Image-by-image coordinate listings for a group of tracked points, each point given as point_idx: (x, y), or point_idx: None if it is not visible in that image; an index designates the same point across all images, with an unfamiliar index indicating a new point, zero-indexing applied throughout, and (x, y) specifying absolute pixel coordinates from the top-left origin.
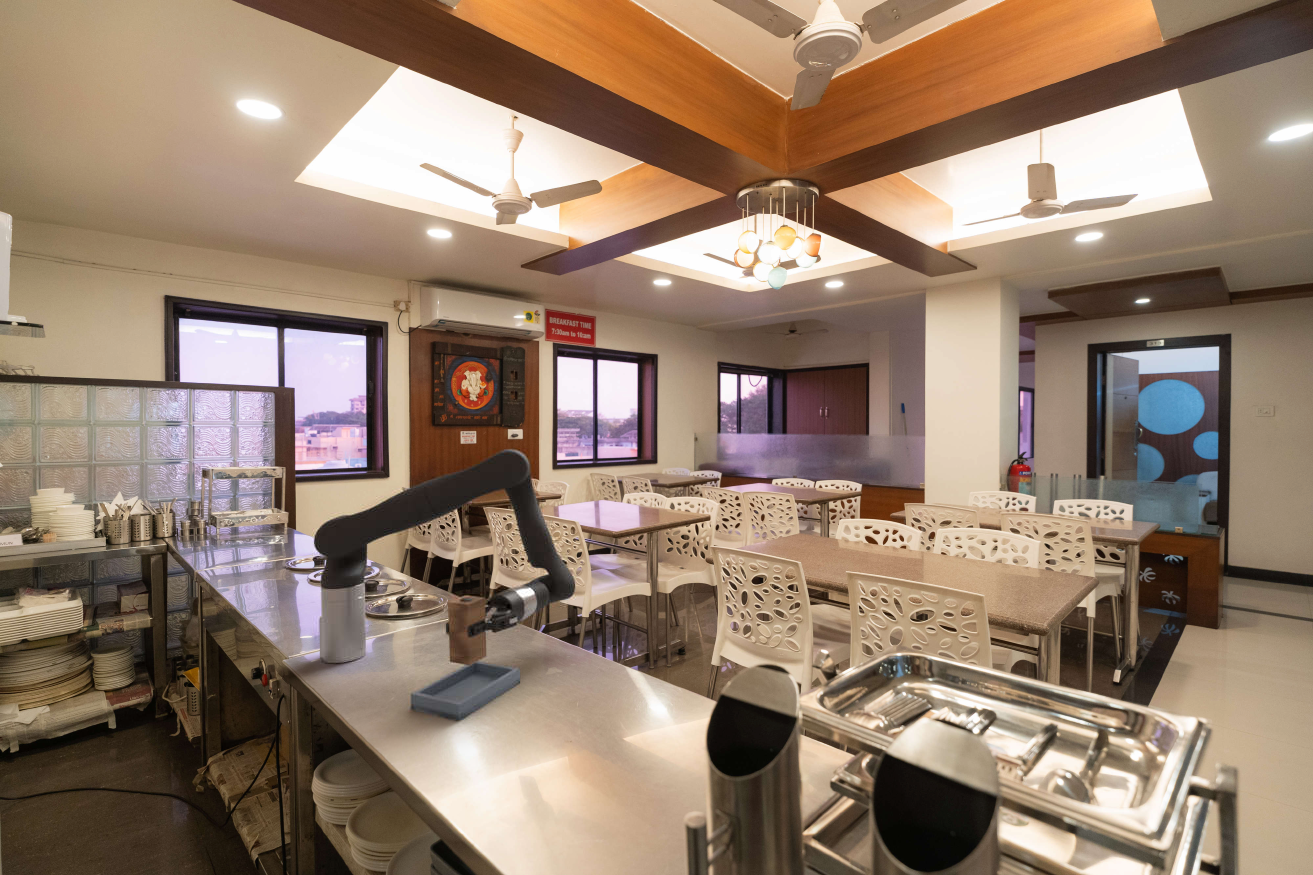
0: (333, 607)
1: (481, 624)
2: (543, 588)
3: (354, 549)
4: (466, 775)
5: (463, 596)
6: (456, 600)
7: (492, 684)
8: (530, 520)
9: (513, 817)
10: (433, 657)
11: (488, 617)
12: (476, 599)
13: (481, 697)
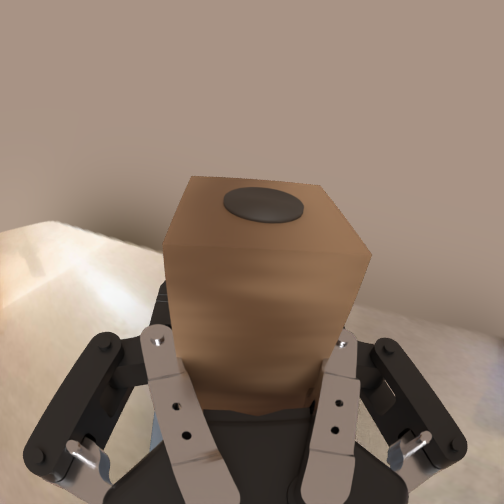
0: None
1: (162, 317)
2: None
3: None
4: (95, 265)
5: (352, 237)
6: (308, 197)
7: (155, 426)
8: None
9: (45, 242)
10: (479, 497)
11: (162, 368)
12: (203, 216)
13: None
